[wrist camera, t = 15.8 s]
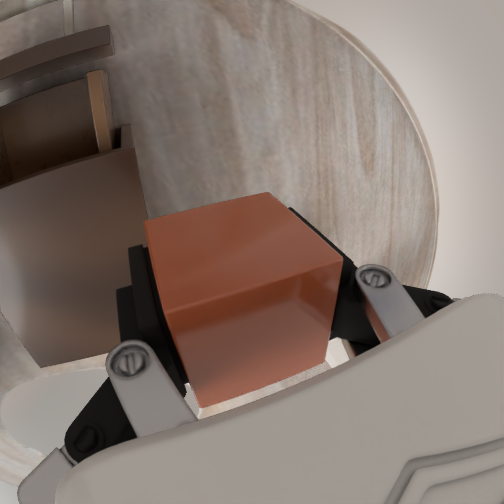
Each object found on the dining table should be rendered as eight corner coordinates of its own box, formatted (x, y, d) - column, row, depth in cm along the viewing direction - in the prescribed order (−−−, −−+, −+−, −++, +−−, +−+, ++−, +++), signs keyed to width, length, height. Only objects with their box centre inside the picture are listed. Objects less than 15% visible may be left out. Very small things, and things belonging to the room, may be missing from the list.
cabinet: (-2, 164, 19) (-49, 210, 11) (130, 123, 22) (134, 147, 15) (49, 296, 27) (40, 368, 20) (159, 267, 31) (178, 334, 23)
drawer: (-19, 32, 11) (-64, 23, 5) (111, -13, 15) (108, -48, 9) (21, 229, 22) (-2, 281, 16) (136, 196, 25) (143, 240, 19)
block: (142, 220, 10) (163, 313, 6) (268, 190, 11) (345, 257, 8) (170, 316, 12) (200, 409, 9) (270, 286, 14) (325, 362, 10)
